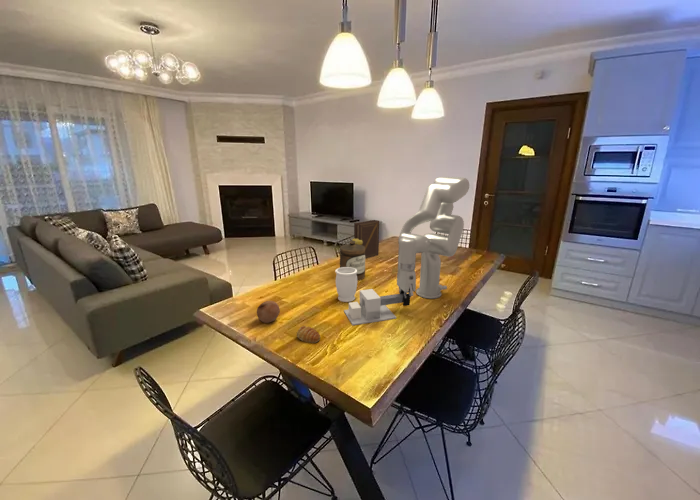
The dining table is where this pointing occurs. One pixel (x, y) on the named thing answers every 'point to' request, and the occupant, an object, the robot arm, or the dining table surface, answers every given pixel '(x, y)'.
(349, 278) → the jar
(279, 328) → the dining table surface
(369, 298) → the bearing block
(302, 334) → the pastry
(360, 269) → the wooden container
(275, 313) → the onion
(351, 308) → the block
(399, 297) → the shaft
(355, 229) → the book
